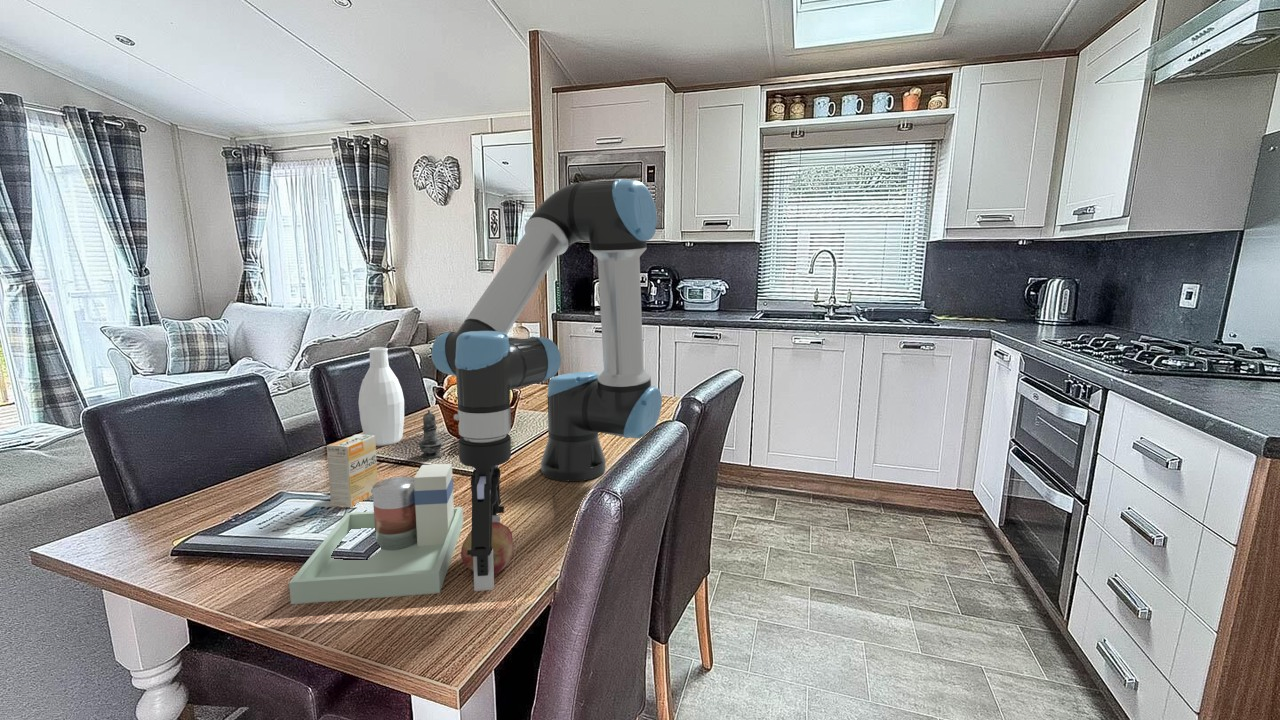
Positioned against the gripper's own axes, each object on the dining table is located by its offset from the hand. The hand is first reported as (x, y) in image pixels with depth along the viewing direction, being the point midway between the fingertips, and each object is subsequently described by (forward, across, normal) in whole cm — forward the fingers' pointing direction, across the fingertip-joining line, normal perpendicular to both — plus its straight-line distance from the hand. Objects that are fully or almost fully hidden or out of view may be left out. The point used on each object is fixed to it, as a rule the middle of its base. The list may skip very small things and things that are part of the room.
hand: (488, 571), depth 86 cm
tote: (0, -5, -16) cm, 17 cm away
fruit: (0, 0, 0) cm, 0 cm away
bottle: (0, -71, -35) cm, 79 cm away
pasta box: (-1, -12, -10) cm, 15 cm away
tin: (-1, -11, -16) cm, 19 cm away
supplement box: (0, -30, -29) cm, 42 cm away
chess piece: (0, -57, -20) cm, 60 cm away
